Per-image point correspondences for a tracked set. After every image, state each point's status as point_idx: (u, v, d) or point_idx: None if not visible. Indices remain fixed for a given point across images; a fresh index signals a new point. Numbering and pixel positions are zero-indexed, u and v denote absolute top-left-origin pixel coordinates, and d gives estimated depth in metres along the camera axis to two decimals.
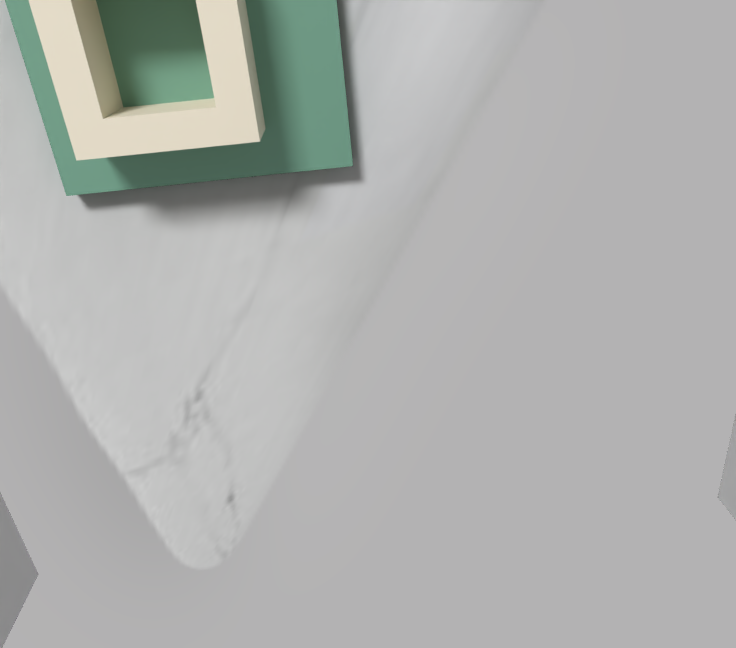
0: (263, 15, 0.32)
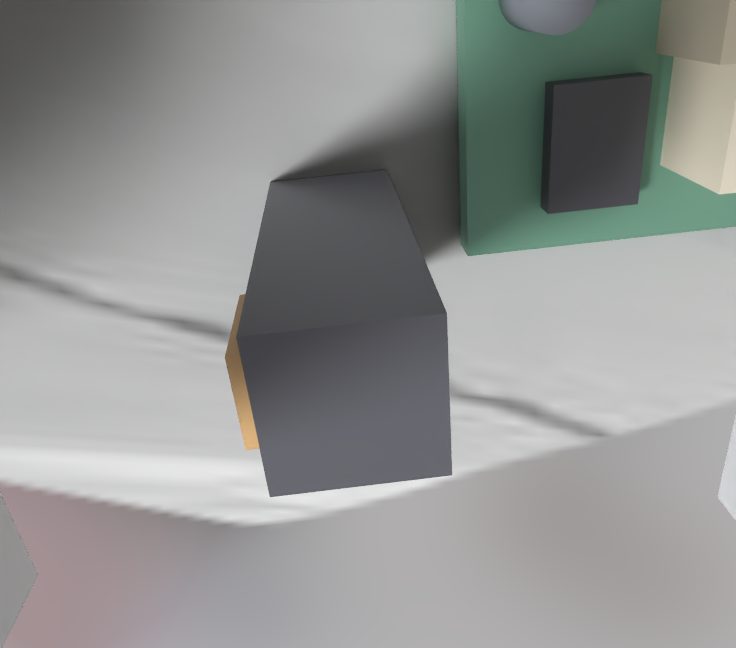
0: None
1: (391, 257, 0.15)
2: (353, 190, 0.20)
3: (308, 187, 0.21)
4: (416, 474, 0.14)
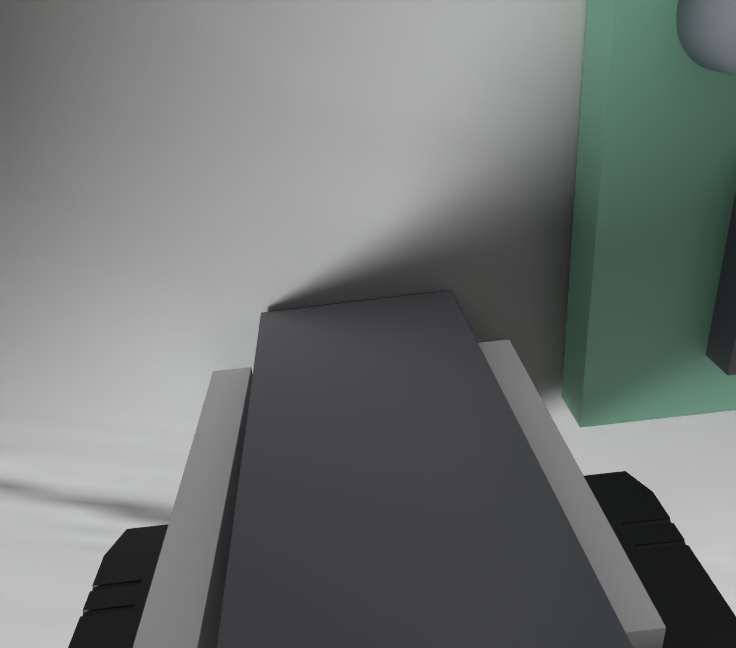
0: None
1: (546, 627, 0.06)
2: (405, 346, 0.11)
3: (326, 331, 0.12)
4: None
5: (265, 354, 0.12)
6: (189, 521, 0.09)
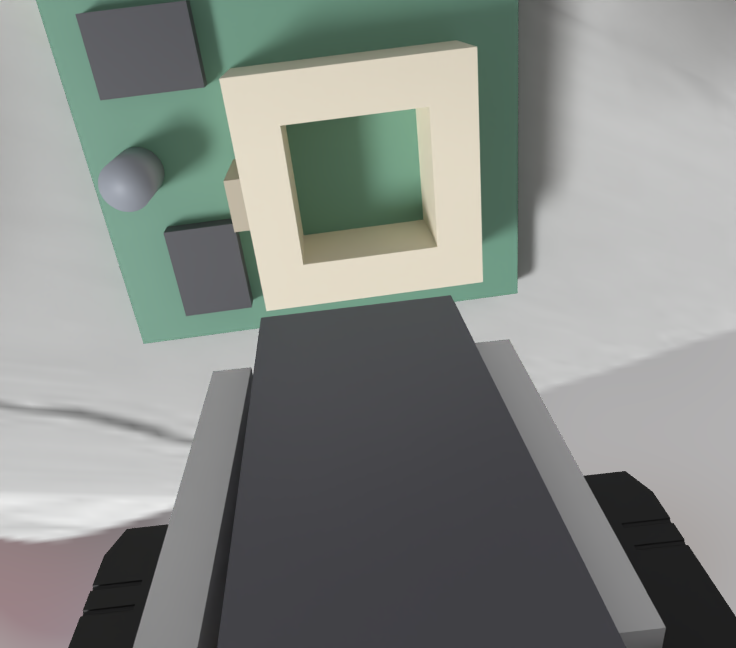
0: (317, 35, 0.25)
1: (544, 636, 0.06)
2: (405, 351, 0.11)
3: (326, 336, 0.12)
4: None
5: (265, 359, 0.12)
6: (189, 521, 0.09)
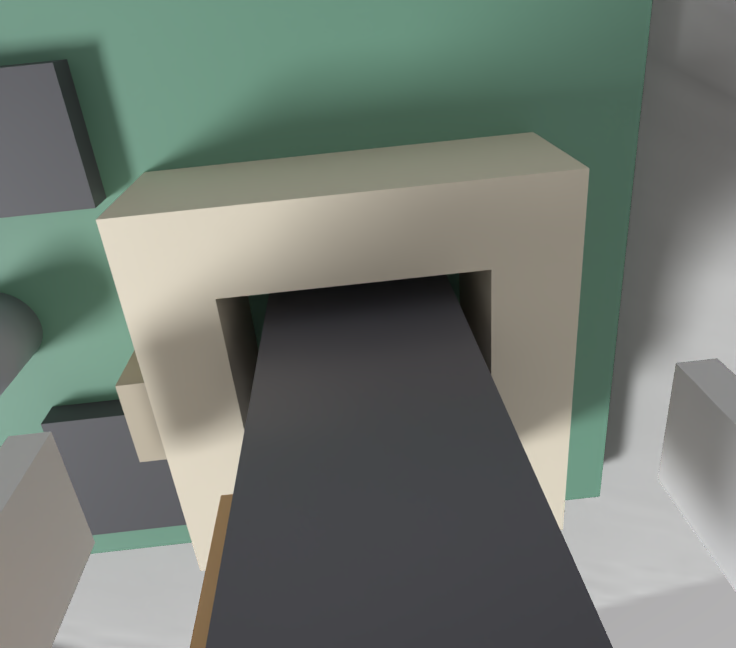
0: (293, 121, 0.14)
1: (472, 454, 0.09)
2: (391, 286, 0.14)
3: None
4: None
5: (277, 293, 0.14)
6: None
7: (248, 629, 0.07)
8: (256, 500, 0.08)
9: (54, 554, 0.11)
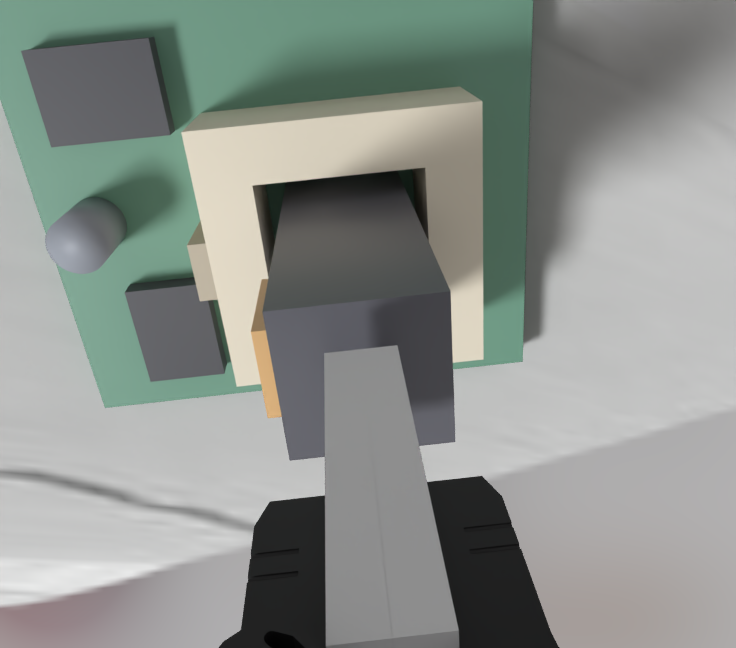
0: (300, 78, 0.22)
1: (400, 244, 0.16)
2: (364, 186, 0.21)
3: (322, 183, 0.22)
4: (422, 440, 0.15)
5: (289, 191, 0.22)
6: (344, 491, 0.09)
7: (284, 295, 0.14)
8: (284, 263, 0.16)
9: None
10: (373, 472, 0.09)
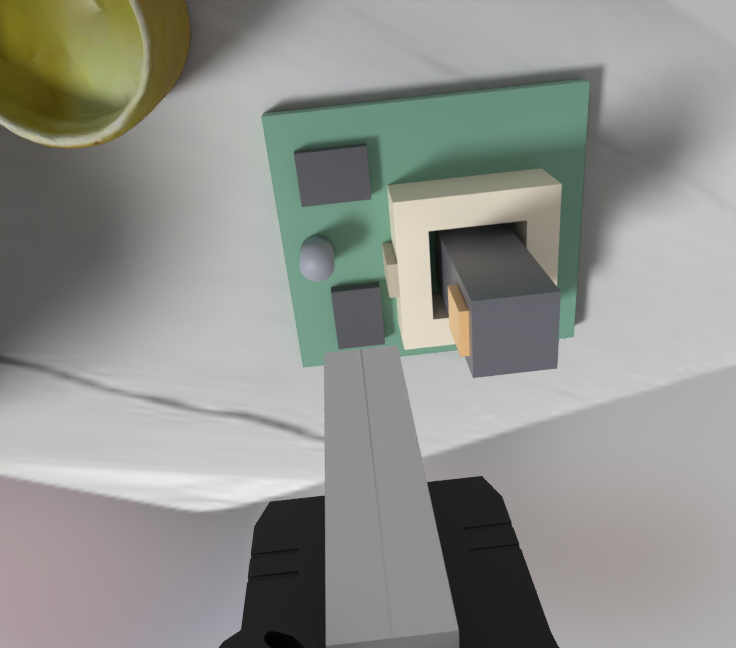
0: (447, 164, 0.36)
1: (525, 267, 0.31)
2: (487, 229, 0.36)
3: None
4: (541, 367, 0.30)
5: (441, 232, 0.36)
6: (344, 491, 0.09)
7: (477, 294, 0.29)
8: (467, 277, 0.30)
9: None
10: (373, 472, 0.09)
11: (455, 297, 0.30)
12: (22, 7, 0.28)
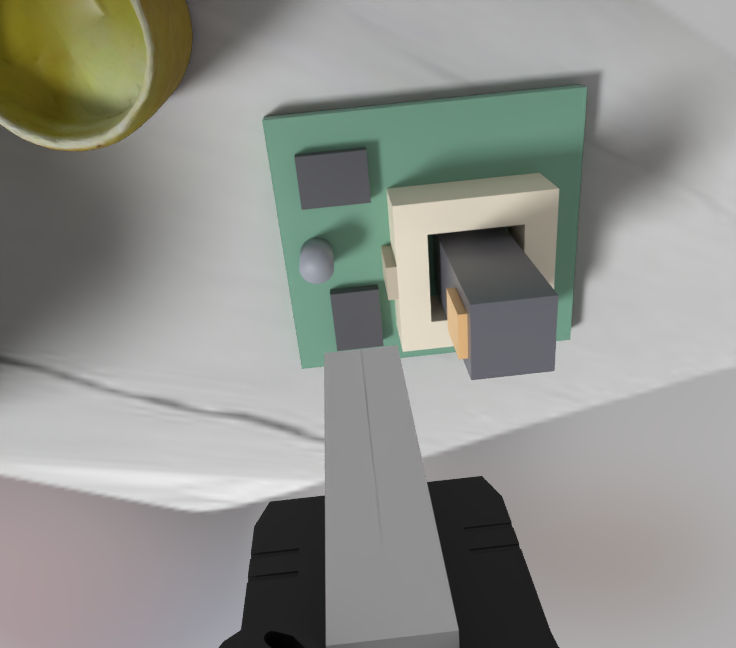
0: (446, 168, 0.37)
1: (523, 271, 0.31)
2: (485, 232, 0.36)
3: None
4: (538, 370, 0.30)
5: (440, 235, 0.37)
6: (344, 491, 0.09)
7: (476, 297, 0.29)
8: (465, 280, 0.31)
9: None
10: (373, 472, 0.09)
11: (454, 300, 0.31)
12: (26, 11, 0.28)
